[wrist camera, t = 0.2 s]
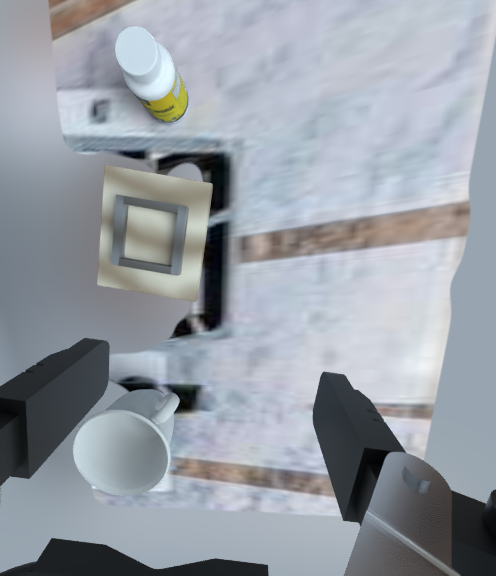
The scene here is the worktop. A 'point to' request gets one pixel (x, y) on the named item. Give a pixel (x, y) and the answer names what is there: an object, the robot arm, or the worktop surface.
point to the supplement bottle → (151, 75)
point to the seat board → (153, 233)
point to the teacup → (127, 443)
